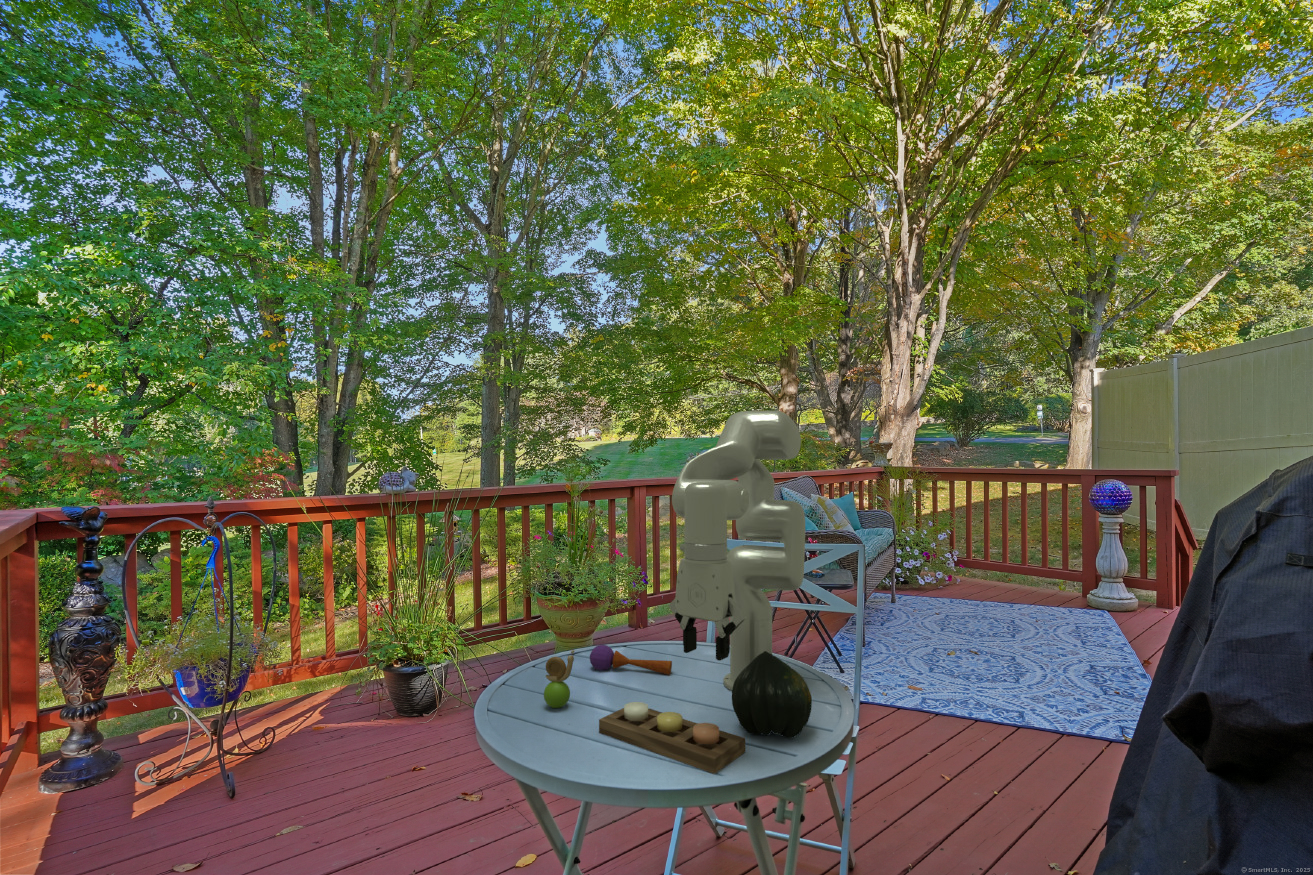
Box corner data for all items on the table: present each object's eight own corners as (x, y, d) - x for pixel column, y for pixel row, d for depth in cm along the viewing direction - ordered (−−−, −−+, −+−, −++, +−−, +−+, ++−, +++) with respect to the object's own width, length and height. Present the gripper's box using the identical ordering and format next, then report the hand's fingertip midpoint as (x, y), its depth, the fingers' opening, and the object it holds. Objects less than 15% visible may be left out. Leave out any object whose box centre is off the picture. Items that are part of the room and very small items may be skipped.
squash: (795, 728, 114) (806, 647, 124) (714, 716, 121) (731, 640, 130) (812, 758, 123) (821, 680, 133) (736, 745, 130) (750, 672, 139)
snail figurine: (569, 713, 134) (569, 654, 134) (539, 711, 135) (539, 652, 136) (578, 703, 139) (578, 646, 140) (549, 701, 141) (549, 644, 141)
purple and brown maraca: (668, 662, 155) (586, 650, 159) (667, 686, 156) (586, 672, 160) (673, 650, 160) (594, 638, 165) (672, 673, 162) (594, 660, 166)
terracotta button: (702, 730, 119) (702, 720, 119) (724, 737, 117) (724, 727, 117) (687, 739, 116) (687, 728, 116) (709, 746, 113) (709, 735, 113)
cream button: (634, 709, 129) (634, 699, 129) (653, 714, 126) (653, 705, 126) (619, 716, 126) (619, 707, 126) (637, 722, 123) (637, 713, 123)
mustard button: (667, 719, 124) (667, 709, 124) (687, 725, 121) (687, 715, 122) (652, 727, 121) (652, 717, 121) (672, 734, 118) (672, 724, 118)
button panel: (632, 715, 133) (632, 703, 133) (745, 752, 117) (745, 737, 117) (599, 732, 125) (599, 719, 125) (714, 773, 109) (714, 758, 109)
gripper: (654, 550, 119) (654, 650, 119) (736, 560, 109) (737, 670, 108) (678, 545, 125) (678, 641, 125) (759, 554, 114) (759, 658, 114)
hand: (705, 653), depth 116 cm, fingers open, 6 cm apart
